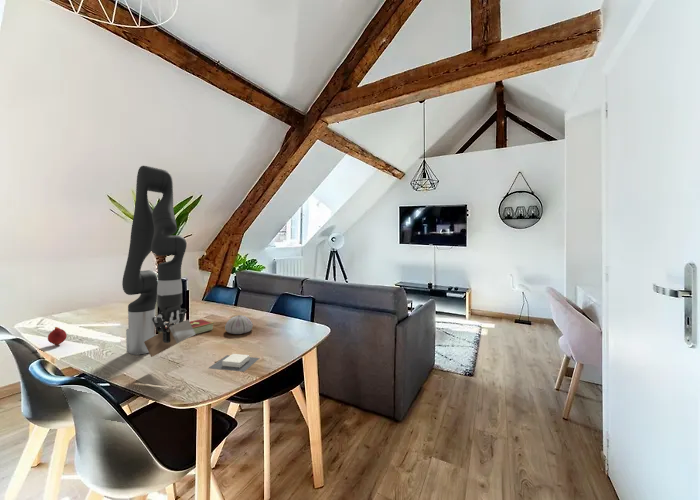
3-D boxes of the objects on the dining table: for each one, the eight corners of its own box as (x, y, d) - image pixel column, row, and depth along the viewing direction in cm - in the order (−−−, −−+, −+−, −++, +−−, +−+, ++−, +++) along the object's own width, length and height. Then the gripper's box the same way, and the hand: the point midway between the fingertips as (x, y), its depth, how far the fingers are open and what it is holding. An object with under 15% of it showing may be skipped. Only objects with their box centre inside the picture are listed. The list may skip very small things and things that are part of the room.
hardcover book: (158, 336, 143) (158, 327, 143) (201, 326, 161) (201, 318, 160) (170, 341, 137) (170, 332, 136) (213, 330, 154) (213, 322, 154)
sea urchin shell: (244, 325, 161) (244, 311, 161) (258, 331, 152) (258, 316, 152) (219, 331, 151) (219, 315, 151) (233, 338, 142) (233, 321, 142)
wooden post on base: (145, 359, 103) (137, 344, 104) (163, 351, 111) (156, 336, 111) (179, 341, 101) (171, 325, 101) (195, 334, 109) (188, 319, 109)
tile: (222, 360, 110) (239, 362, 109) (232, 353, 117) (249, 355, 116) (222, 366, 110) (239, 367, 109) (232, 358, 117) (249, 360, 116)
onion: (66, 341, 133) (66, 324, 133) (67, 345, 129) (66, 327, 128) (48, 345, 129) (47, 326, 128) (47, 348, 125) (47, 329, 124)
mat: (208, 369, 108) (208, 368, 108) (227, 356, 120) (227, 355, 120) (244, 372, 106) (244, 371, 106) (259, 359, 118) (259, 358, 118)
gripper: (175, 288, 113) (175, 333, 113) (143, 295, 99) (144, 347, 100) (193, 289, 111) (193, 335, 112) (163, 296, 98) (164, 348, 98)
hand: (170, 340), depth 106 cm, fingers closed on wooden post on base, 3 cm apart
